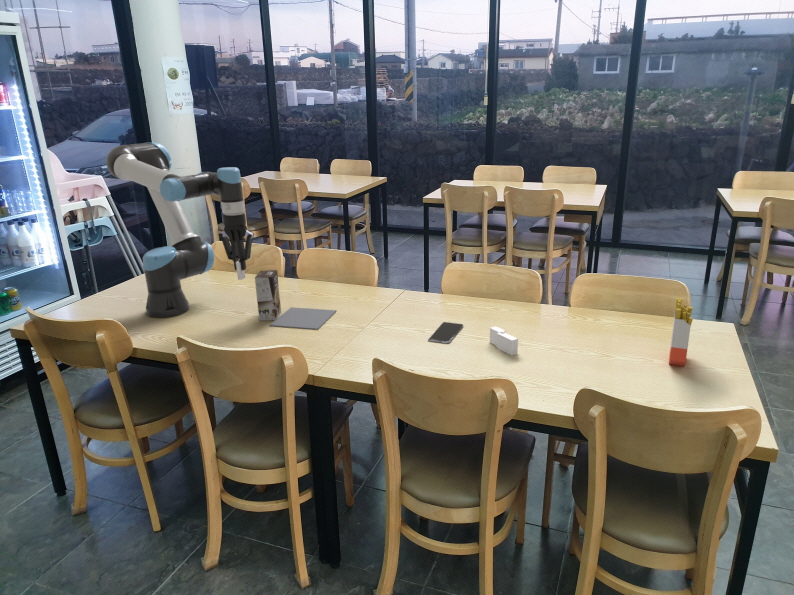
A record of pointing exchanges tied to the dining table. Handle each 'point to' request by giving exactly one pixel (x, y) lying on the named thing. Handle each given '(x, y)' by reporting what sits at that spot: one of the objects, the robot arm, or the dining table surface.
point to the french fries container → (680, 334)
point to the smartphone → (445, 332)
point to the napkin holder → (503, 340)
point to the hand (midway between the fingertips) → (241, 278)
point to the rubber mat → (303, 318)
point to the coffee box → (268, 295)
